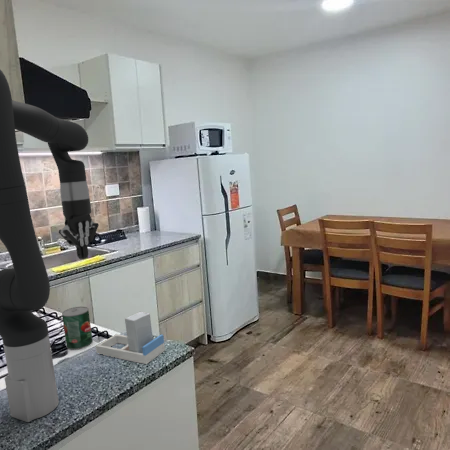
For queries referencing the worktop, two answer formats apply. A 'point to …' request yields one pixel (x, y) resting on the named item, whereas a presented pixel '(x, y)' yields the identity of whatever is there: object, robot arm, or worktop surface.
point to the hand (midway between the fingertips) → (83, 258)
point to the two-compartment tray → (148, 353)
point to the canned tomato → (77, 327)
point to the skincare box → (138, 331)
